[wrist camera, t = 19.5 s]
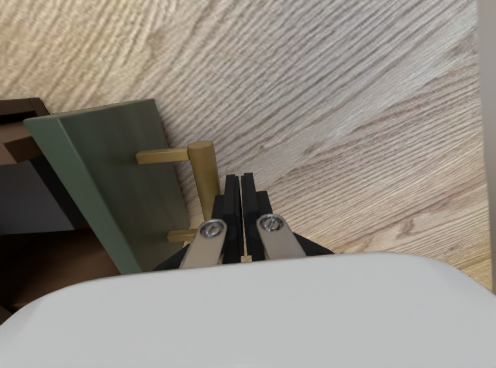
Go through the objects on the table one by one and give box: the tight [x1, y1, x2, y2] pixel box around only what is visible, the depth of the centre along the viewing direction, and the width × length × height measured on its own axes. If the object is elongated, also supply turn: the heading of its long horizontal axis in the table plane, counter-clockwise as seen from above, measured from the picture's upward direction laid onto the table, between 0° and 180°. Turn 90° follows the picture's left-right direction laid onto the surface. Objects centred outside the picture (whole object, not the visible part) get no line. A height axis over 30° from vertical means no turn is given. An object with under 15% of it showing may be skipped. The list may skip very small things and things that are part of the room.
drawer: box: [0, 99, 222, 313], centre depth 12 cm, size 18×11×8 cm, turn 94°
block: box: [0, 154, 86, 235], centre depth 12 cm, size 4×4×4 cm
